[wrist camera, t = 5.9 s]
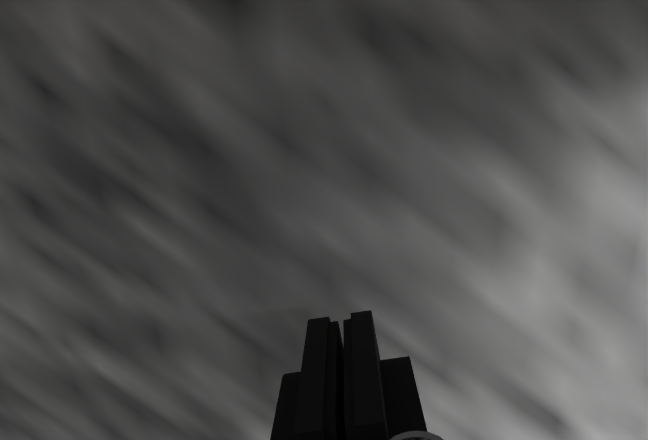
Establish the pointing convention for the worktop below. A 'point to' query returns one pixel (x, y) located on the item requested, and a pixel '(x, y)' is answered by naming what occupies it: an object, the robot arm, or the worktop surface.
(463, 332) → the worktop surface
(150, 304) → the worktop surface
